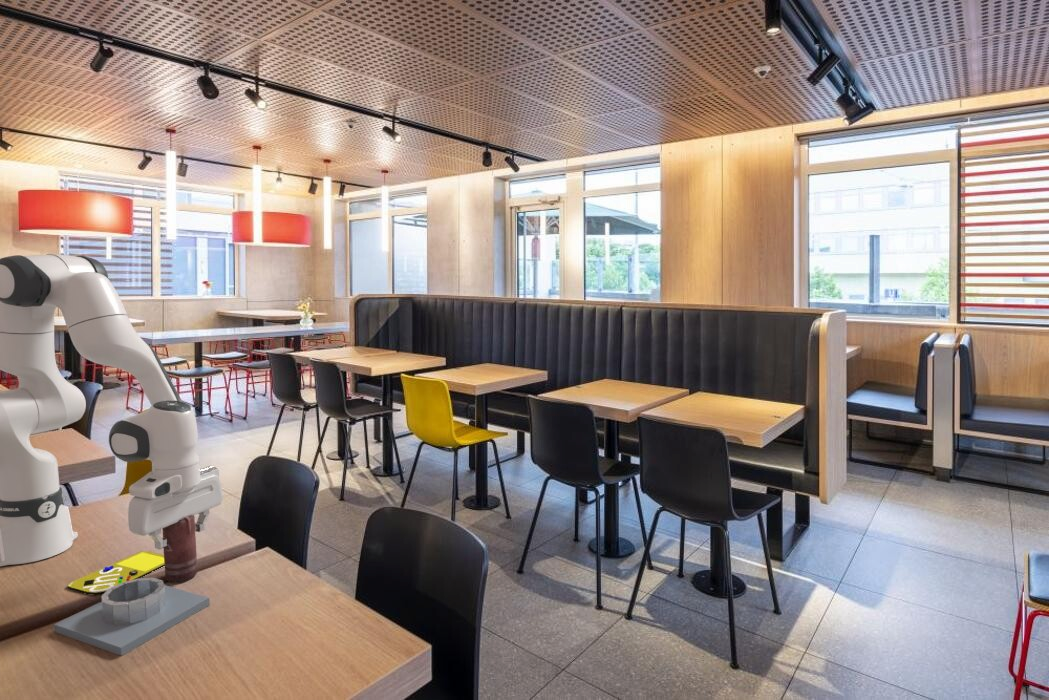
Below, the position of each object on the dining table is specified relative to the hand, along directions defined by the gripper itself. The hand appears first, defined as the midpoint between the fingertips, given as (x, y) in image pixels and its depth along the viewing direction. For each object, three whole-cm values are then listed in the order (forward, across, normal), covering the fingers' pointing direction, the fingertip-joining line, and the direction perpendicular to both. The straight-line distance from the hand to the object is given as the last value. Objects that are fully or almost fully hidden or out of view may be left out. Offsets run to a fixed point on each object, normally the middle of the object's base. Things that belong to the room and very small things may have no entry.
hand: (181, 538), depth 133 cm
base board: (+9, +15, +6) cm, 18 cm away
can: (+9, 0, 0) cm, 9 cm away
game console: (+9, +4, -13) cm, 17 cm away
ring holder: (+7, +15, +6) cm, 18 cm away
